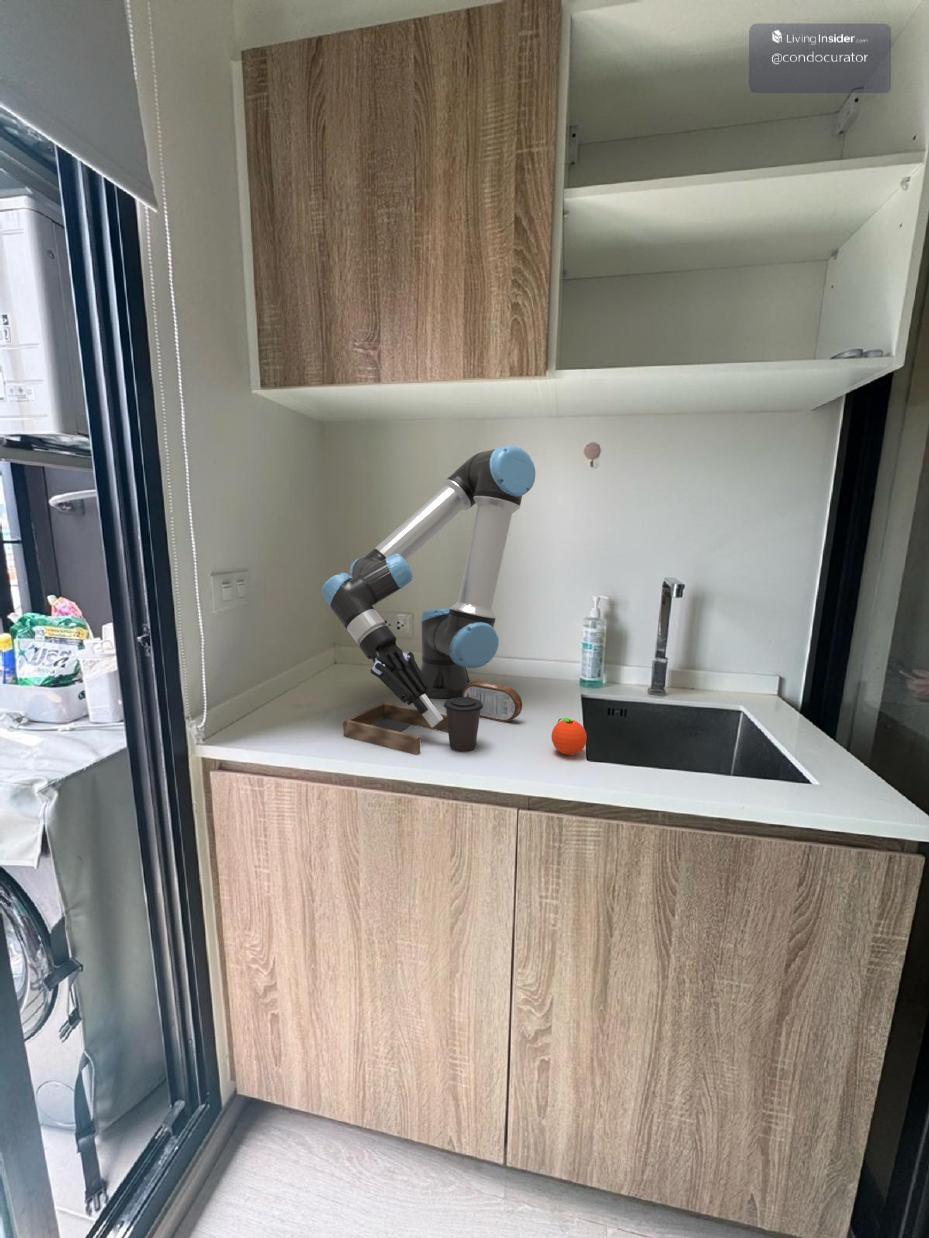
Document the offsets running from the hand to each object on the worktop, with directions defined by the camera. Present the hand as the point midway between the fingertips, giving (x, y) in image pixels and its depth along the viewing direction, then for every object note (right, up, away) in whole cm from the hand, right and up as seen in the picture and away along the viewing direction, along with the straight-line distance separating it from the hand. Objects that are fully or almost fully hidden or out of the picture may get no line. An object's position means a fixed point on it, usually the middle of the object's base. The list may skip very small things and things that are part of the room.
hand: (437, 723), depth 108 cm
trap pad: (-12, -3, +8) cm, 15 cm away
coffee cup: (+5, -5, 0) cm, 7 cm away
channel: (-9, -4, +6) cm, 11 cm away
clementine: (+26, -6, -3) cm, 27 cm away
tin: (+12, -2, +16) cm, 20 cm away
